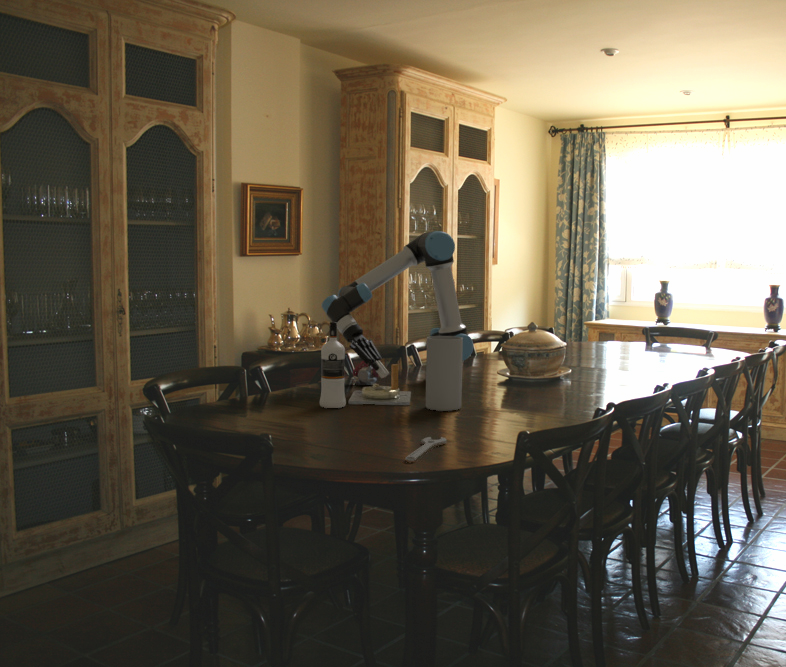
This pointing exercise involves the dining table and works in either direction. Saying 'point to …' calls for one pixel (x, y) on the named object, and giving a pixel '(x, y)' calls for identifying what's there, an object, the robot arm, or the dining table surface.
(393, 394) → the cream rounded piece
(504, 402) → the dining table surface
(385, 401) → the base plate
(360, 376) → the brake caliper
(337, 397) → the vodka
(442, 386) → the cylinder vase
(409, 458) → the adjustable wrench
